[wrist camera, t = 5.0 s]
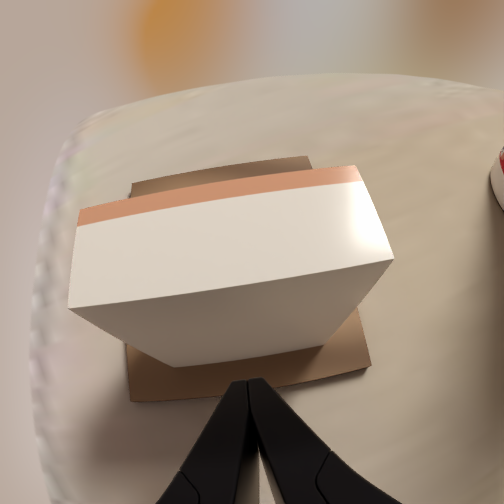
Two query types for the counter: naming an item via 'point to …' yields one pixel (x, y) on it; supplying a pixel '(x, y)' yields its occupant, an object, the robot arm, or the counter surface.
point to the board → (269, 367)
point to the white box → (230, 265)
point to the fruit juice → (498, 178)
